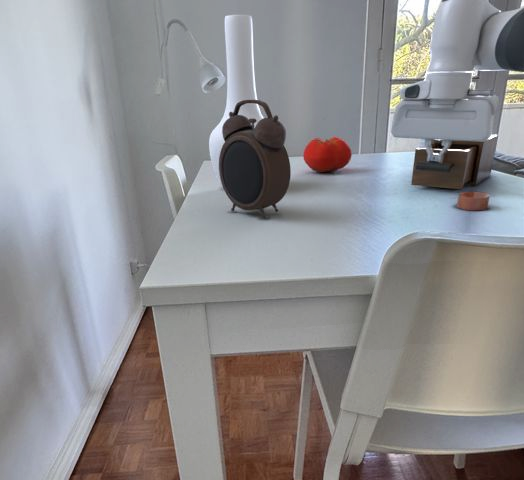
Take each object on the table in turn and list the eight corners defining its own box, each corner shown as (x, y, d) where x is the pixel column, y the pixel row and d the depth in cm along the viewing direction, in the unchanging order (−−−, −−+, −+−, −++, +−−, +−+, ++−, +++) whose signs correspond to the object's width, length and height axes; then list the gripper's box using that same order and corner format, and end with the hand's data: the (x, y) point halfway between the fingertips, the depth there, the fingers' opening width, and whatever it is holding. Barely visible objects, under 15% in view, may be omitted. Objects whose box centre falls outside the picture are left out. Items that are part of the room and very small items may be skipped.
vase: (210, 195, 110) (194, 12, 92) (214, 182, 124) (202, 21, 107) (281, 192, 110) (279, 9, 93) (277, 179, 125) (275, 19, 107)
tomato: (293, 174, 131) (293, 140, 127) (311, 167, 141) (311, 135, 136) (340, 177, 126) (342, 141, 121) (355, 169, 135) (357, 136, 131)
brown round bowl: (490, 205, 93) (492, 193, 92) (483, 211, 89) (485, 198, 88) (461, 202, 96) (463, 190, 95) (453, 208, 92) (455, 196, 91)
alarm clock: (216, 211, 96) (207, 100, 86) (242, 205, 100) (236, 98, 90) (268, 223, 87) (265, 100, 77) (294, 215, 91) (294, 98, 81)
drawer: (455, 193, 100) (462, 154, 96) (403, 188, 106) (407, 151, 102) (477, 179, 113) (484, 144, 109) (430, 175, 119) (434, 142, 115)
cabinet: (475, 185, 110) (483, 141, 106) (422, 181, 117) (428, 139, 112) (490, 176, 121) (498, 135, 116) (440, 172, 127) (446, 133, 122)
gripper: (505, 89, 92) (488, 164, 99) (403, 89, 102) (395, 157, 109) (498, 89, 87) (481, 168, 94) (393, 89, 98) (384, 160, 104)
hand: (434, 162), depth 102 cm, fingers closed, pressing on drawer
